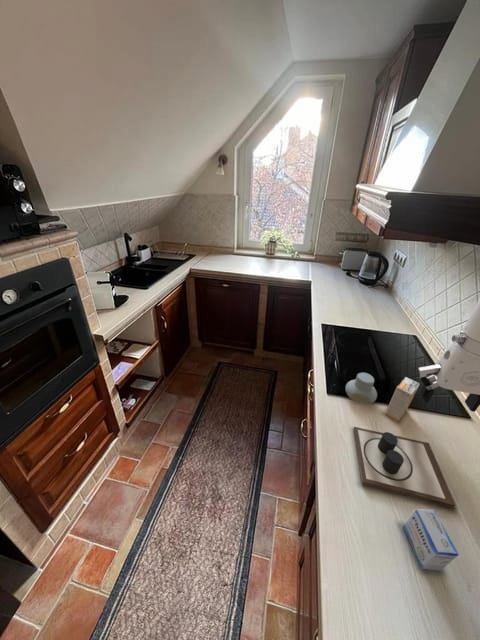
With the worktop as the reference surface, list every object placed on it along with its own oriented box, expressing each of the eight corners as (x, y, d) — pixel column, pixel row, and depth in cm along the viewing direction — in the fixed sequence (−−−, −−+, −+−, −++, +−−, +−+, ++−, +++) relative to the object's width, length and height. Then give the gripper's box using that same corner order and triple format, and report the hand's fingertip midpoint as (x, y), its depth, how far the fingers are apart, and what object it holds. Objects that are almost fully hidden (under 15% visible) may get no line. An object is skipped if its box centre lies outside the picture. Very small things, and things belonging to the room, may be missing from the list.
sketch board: (427, 445, 80) (429, 442, 79) (453, 508, 65) (456, 505, 64) (353, 429, 84) (354, 426, 84) (361, 484, 69) (363, 481, 68)
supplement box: (398, 422, 87) (412, 395, 81) (384, 414, 90) (396, 386, 84) (407, 410, 92) (420, 383, 86) (393, 402, 95) (405, 376, 89)
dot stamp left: (390, 444, 78) (395, 433, 76) (393, 456, 75) (399, 445, 72) (376, 441, 79) (381, 430, 77) (379, 452, 76) (384, 442, 73)
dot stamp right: (395, 462, 73) (401, 451, 71) (399, 476, 70) (405, 465, 67) (380, 458, 74) (386, 448, 72) (383, 472, 71) (389, 461, 68)
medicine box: (401, 526, 61) (414, 507, 57) (420, 526, 61) (434, 508, 57) (421, 570, 54) (437, 553, 50) (442, 571, 54) (460, 554, 50)
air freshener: (374, 394, 98) (382, 375, 94) (374, 410, 92) (382, 389, 87) (345, 385, 102) (350, 366, 97) (342, 399, 96) (349, 379, 91)
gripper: (441, 347, 51) (411, 406, 60) (545, 362, 48) (497, 423, 56) (427, 328, 58) (402, 384, 66) (518, 341, 54) (479, 398, 62)
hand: (446, 402), depth 61 cm, fingers open, 9 cm apart
